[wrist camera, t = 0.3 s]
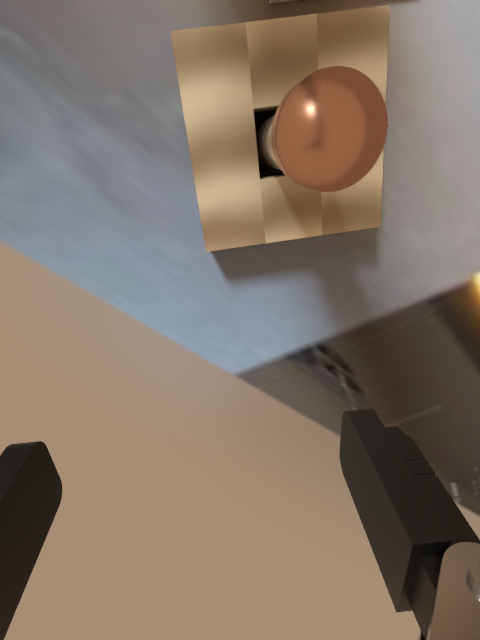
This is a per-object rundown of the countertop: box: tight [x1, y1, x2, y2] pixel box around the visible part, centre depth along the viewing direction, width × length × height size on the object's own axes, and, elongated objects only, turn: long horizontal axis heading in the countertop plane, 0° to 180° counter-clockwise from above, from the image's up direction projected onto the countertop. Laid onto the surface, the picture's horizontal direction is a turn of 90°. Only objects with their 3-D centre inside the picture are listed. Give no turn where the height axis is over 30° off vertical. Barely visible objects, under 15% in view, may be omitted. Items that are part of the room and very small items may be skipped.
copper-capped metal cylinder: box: [256, 66, 388, 192], centre depth 26 cm, size 6×6×15 cm
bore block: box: [170, 5, 390, 252], centre depth 31 cm, size 16×16×4 cm
